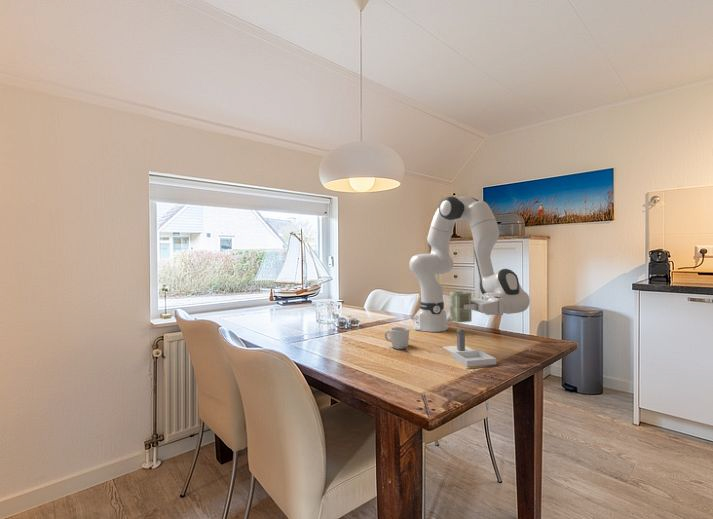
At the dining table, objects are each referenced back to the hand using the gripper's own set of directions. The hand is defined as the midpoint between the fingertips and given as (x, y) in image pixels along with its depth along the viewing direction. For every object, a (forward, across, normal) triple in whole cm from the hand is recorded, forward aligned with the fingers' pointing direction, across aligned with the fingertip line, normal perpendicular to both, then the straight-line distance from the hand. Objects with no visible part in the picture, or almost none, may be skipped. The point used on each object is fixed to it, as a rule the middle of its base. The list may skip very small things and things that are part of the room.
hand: (458, 305), depth 140 cm
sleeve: (-1, 0, +6) cm, 6 cm away
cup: (+21, -14, +19) cm, 32 cm away
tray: (+1, +13, +19) cm, 23 cm away
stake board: (-1, -1, +19) cm, 19 cm away
